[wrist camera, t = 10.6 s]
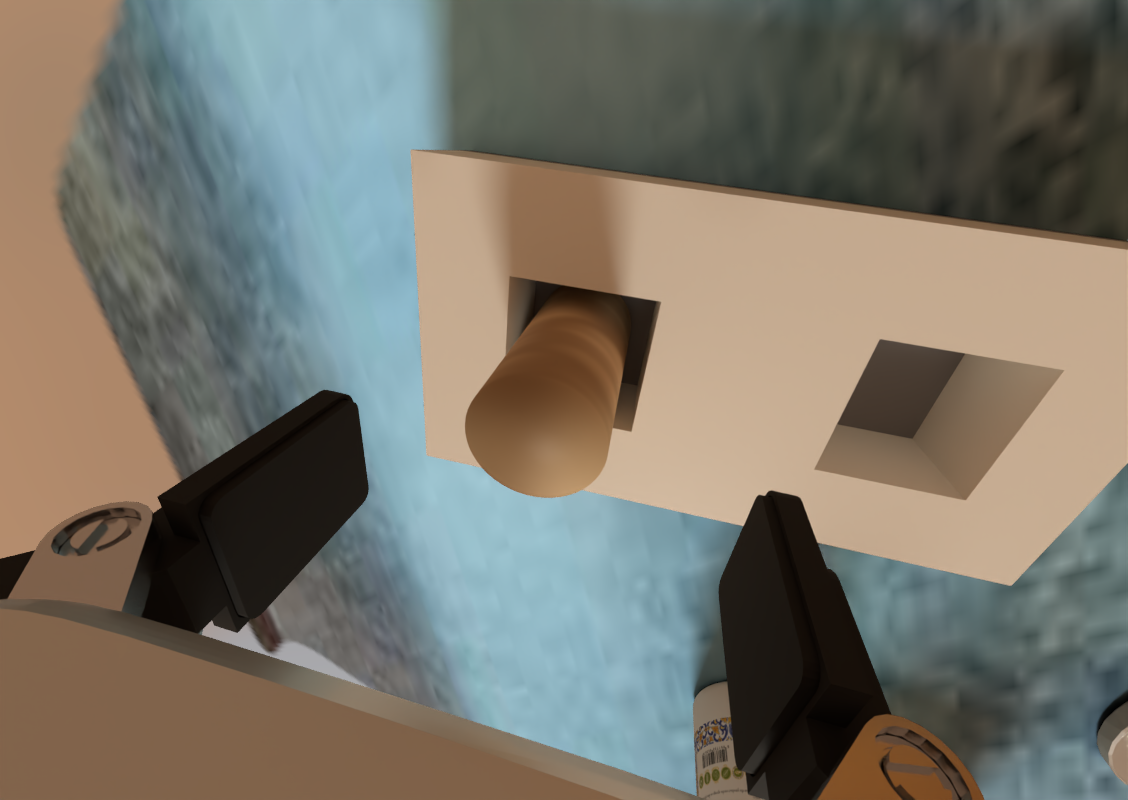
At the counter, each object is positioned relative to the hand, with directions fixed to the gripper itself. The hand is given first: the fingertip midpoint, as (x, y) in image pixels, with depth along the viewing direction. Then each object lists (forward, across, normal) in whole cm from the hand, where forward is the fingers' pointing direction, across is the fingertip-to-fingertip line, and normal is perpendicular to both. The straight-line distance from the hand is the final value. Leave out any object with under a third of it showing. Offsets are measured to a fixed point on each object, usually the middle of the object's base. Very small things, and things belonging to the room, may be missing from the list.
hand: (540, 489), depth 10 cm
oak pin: (+11, +1, 0) cm, 11 cm away
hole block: (+12, -5, 0) cm, 13 cm away
